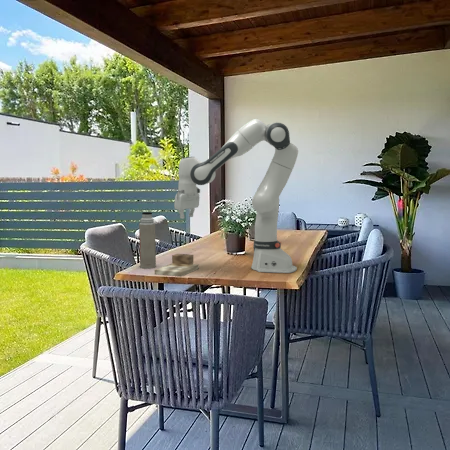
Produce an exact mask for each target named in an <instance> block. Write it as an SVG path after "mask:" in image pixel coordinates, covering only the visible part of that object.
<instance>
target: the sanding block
mask: <svg viewBox="0 0 450 450" xmlns="http://www.w3.org/2000/svg"><path fill="white" fill-rule="evenodd" d="M171 260H172V261H171V264H172V265H174V266H186V267H189V266H191V265H194V254H186V253H175V254H173V255H171Z"/></svg>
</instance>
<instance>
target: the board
mask: <svg viewBox="0 0 450 450" xmlns="http://www.w3.org/2000/svg"><path fill="white" fill-rule="evenodd" d="M199 268H200V266H199V264H194V265H191V266H189V267H186V266H174V265H172V263H170V264H167V265H164V266H161V267H159V268H157V269H154V275H161V276H170V277H171V276H172V277H183V276H185V275H188V274H190V273H192V272H195V271H197V270H199Z"/></svg>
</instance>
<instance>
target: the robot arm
mask: <svg viewBox="0 0 450 450" xmlns="http://www.w3.org/2000/svg"><path fill="white" fill-rule="evenodd" d="M290 139H291V138H290V130H289V127H287V126H286V124H284V123H282V122H278V121H276V122H273V123H269V124H265V123H264V121H262V120H261V119H258V118H254V119H251V120H249V121H248V122H247V123H245V124H244V125H242V126H241V127H240V128H238V129H237V130H236V131H235V132H234V133H233V134H232V135H231V136H230V138H229V139H227V141H226V142H225V143H224V145H223V146H222V147H221V148H220V149H218V151H216V152H215V153H213V155H212V156H210V157H209V158H207V160H205V161H201V160H199V159H198V158H196V157H195V156H187V157H183V158H181V159H180V160H179V165H178V177H179V180H178V187H177V188H178V189H177V190H178V191H177V193H176V194H175V197H174V203H173V204H174V210H176V211H177V210H178V214H179V218H180V219H182V220H183V219H185V218H186V217H185V216H186V215H185V214H184V212H185V210H189V213H188V217H189V218H193V217H194V213H195V210H196V209H197V208H199V205H200V194H201V189H200V188H199V187H198V186H204V185H207V184H210V183H212V182H213V181H214V180H215V178H216V175H217V173H216V172H217V170H218V169H219V168H221V167H222V166H223V165H224V164H225V163H227V162H228V161H229V160H231V159H233V158H236V157H240V156H243V155H245V154H246V153H248V152H249V151H250V150H252V149H253V148H254V147H255V146H256V145H257V144H259V143H261V142H263V141H265V142H267V143H268V144H269V145H270V146H272V147H274V155H273V157H272V159H271V161H270V163H269V166H268V167H267V170H266V173H265V175H264V177H263V178H262V181H260V184H259V185H258V188H257V190H256V192H255V194H254V195H253V197H252V200H251V207H252V208H253V210H254V211H255V212H256V216H255V221H254V222H255V223H254V240H253V244H252V245H253V246H252V247H253V259H252V262H251V263H252V264H251V270H252V271H253V270H254V271H256V272H258V273H278V274H279V273H280V274H283V273H284V274H291V273H294V272H296V271H297V269H298V267H297V266H295V265H293V260H292V257H291V256H290V255H289V254H288V252H286V251H285V250H283V249H282V248H281V246H282V241H278V222H279V221H278V218H279V210H280V197H281V194H282V192H283V191H284V189H285V187H286V186H287V183H288V181H289V179H290V177H291V175H292V172H293V169H294V167H295V165H296V162H297V158H298V154H299V150H298V147H297V146H296V145H295V144H293V143H292V142H291V140H290Z"/></svg>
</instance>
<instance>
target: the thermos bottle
mask: <svg viewBox="0 0 450 450" xmlns="http://www.w3.org/2000/svg"><path fill="white" fill-rule="evenodd" d="M141 214H142V215H141V218H140V219H139V221H140V223H139V224H138V226H139V228H138V229H139V231H138V233H139V267H141V269H153V268H156V267H157V259H156V258H157V257H156V256H157V255H156V254H157V253H156V248H157V247H156V246H157V245H156V243H157V242H156V223H155V220H154V218H153V215H152V214H153V212H152V211H151V212H150V211H145V212H142V213H141Z"/></svg>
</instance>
